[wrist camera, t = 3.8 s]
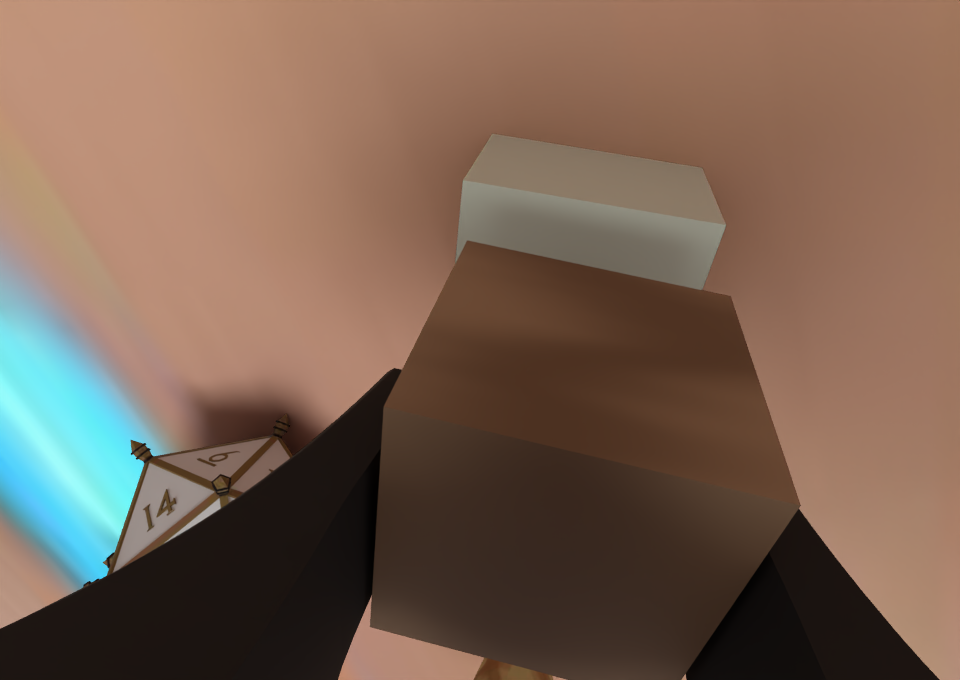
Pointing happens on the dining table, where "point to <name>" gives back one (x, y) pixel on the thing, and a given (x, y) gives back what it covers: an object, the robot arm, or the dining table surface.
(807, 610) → the robot arm
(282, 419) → the game die
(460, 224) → the base block
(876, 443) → the dining table surface
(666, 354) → the walnut cube
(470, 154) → the dining table surface
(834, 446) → the dining table surface
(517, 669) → the ice cream cone
